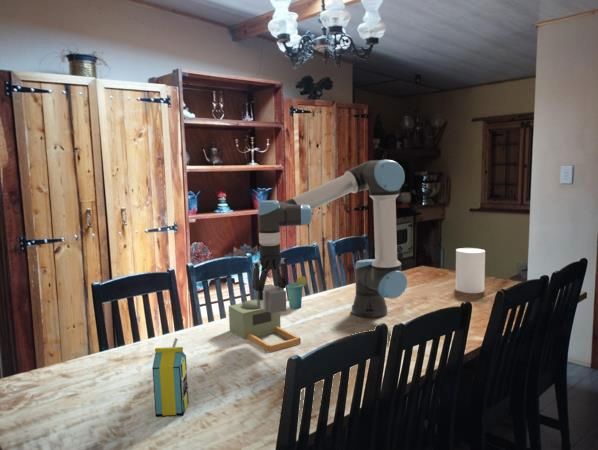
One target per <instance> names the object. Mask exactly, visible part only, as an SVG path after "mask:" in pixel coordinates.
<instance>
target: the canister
mask: <svg viewBox="0 0 598 450" xmlns="http://www.w3.org/2000/svg"><path fill="white" fill-rule="evenodd" d="M485 267H486V250H485V249H482V248H477V247H462V248H461V247H460V248H456V249H455V290H456V291H457V292H459V293H465V294H479V293H483V292H485V277H486V272H485V271H486V268H485Z"/></svg>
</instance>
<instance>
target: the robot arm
mask: <svg viewBox="0 0 598 450" xmlns="http://www.w3.org/2000/svg"><path fill="white" fill-rule="evenodd" d="M405 177H406V175H405V170H404V168H403V167H402V166H401V165H400V164H399V162H397V161H394V160H391V159H381V160H377V159H376V160H368V161H366V162H363V163H361V164H359V165H356V166H355V167H352V168H351V169H348V170H346V171H345V172H344V174H343V175H341V176H338V177H336V178H333V179H332V180H330V181H328V182H325V183H323V184H322V185H319V186H316V187H314V188H312V189H310V190H307V191H305V192H302V193H301V194H299V195H296V196H294V197H291V198H290V199H287V200H285V201H278V200H273V199H272V200H261V201H259V203H258V205H257V207H258V208H257V217H258V218H257V219H258V221H257V222H258V242H259V245H258V252H259V259H258V261H255V262H254V261H253V262H252V268H253V272H252V290H253V291H256V292H257V291H258V299H259V300H260V308H262V309H264V310H265V309H266V298H265V291H263V290H264V286H265V285H266V281H267V277H268V274H269V272H270V271H271V270H272V271H273V274H274V277H275V281H276V283H277V287H278V288H280V289H282V290H284V291H285V289H286V285H288V280H289V275H288V261H289V260H288V258H286V257H281V244H280V243H281V230H280V229H281V227H293V226H296V227H298V226H301V227H303V226H307V225H310V223H311V222H312V220H313V212H312V211H313V210H315V209H318V208H319V207H321V206H324V205H326V204H328V203H330V202H333V201H335V200H337V199H339V198H342V197H343V196H345V195H349V194H350V193H353V194H356V193H358V192H361V191H364V190H365V191H367V190H368V196H369V198H371V199H372V203H373V208H372V209H373V228H374V229H373V232H374V258H372V259H370V258H369V259H360V260H357V261H356V262H355V268H354V271H355V275H354V276H355V296H354V299H353V303H352V305H351V314H352V315H355V316H357V317H361V318H368V319H369V318H370V319H371V318H373V319H374V318H381V317H384V316H386V315H388V306H387V304H386V300H385V299H390V300H393V299H397V298H399V297H401V296H402V295H403V293H404V292H405V291H406V289H407V286H408V278H407V276H406V273H404V272H403V271H402V262H401V261H400V260H398V247H397V245H398V244H397V241H398V239H397V207H396V206H397V205H396V199H397V198H398V196H400V189H401V188H402V186H403V185H404V183H405V181H406V180H405V179H406V178H405ZM279 265H280V267H279ZM260 268H261V269H260Z"/></svg>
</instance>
